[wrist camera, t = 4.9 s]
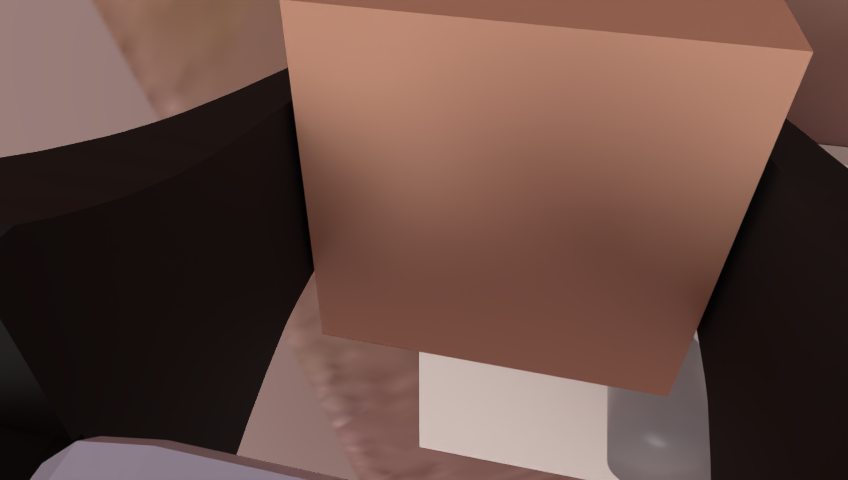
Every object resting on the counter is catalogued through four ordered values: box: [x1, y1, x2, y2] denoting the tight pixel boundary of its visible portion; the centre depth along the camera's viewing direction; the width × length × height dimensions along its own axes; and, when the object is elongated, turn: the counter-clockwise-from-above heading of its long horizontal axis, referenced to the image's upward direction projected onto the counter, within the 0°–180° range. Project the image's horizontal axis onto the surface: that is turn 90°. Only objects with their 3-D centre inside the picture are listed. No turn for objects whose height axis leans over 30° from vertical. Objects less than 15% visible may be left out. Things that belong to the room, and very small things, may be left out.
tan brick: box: [280, 0, 813, 397], centre depth 10 cm, size 6×6×4 cm
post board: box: [419, 144, 848, 480], centre depth 23 cm, size 18×18×6 cm
